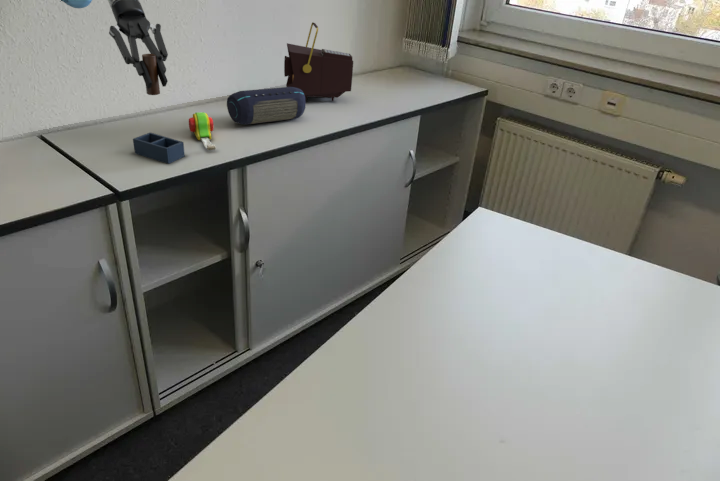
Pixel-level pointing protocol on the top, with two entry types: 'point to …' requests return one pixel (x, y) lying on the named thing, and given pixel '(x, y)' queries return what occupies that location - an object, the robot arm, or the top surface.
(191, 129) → the toy measuring tape
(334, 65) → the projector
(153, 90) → the brown cylinder
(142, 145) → the divided box
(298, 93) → the portable speaker
